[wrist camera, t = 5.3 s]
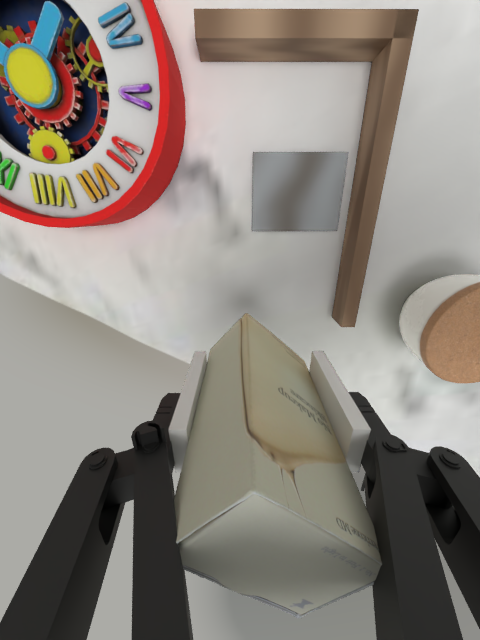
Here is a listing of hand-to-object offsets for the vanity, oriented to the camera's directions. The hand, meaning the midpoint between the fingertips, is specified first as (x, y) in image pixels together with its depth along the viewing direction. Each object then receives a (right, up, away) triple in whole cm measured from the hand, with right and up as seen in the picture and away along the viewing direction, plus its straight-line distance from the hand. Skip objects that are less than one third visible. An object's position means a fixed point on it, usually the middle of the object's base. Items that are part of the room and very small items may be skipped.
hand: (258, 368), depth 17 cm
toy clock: (-16, +23, +5) cm, 28 cm away
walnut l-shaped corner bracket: (+3, +15, +8) cm, 17 cm away
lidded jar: (+22, +5, +13) cm, 26 cm away
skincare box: (0, +1, +2) cm, 2 cm away
